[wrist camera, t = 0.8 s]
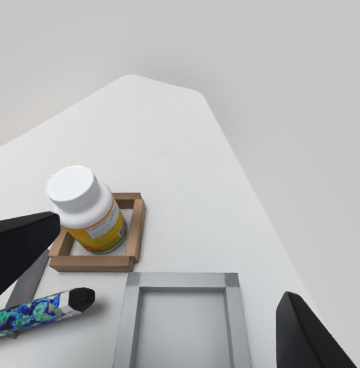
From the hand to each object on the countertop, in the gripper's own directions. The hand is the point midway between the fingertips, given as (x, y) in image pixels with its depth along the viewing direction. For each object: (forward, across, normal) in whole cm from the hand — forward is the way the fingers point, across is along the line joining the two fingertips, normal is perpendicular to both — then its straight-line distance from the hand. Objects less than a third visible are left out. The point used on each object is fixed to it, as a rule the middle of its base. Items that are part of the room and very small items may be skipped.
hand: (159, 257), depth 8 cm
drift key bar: (+6, +15, +15) cm, 22 cm away
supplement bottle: (+13, +10, +11) cm, 20 cm away
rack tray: (+6, -2, +14) cm, 15 cm away
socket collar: (+12, +10, +11) cm, 20 cm away
